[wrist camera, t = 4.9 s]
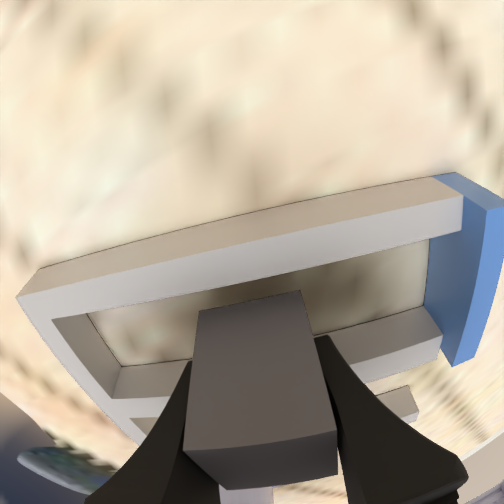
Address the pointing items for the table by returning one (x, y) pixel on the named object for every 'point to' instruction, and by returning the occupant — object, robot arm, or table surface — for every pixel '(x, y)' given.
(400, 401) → the grey blue slatted frame
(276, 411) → the dark gray block
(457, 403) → the table surface
